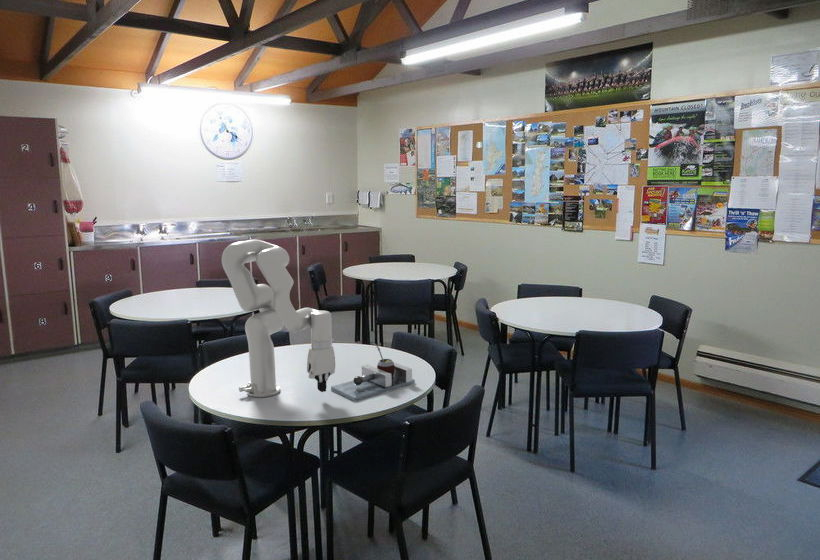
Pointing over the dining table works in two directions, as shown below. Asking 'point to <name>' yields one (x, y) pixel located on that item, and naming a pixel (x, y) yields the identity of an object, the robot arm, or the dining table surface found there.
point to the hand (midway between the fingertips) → (322, 390)
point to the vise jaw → (374, 376)
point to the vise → (375, 385)
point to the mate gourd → (385, 364)
